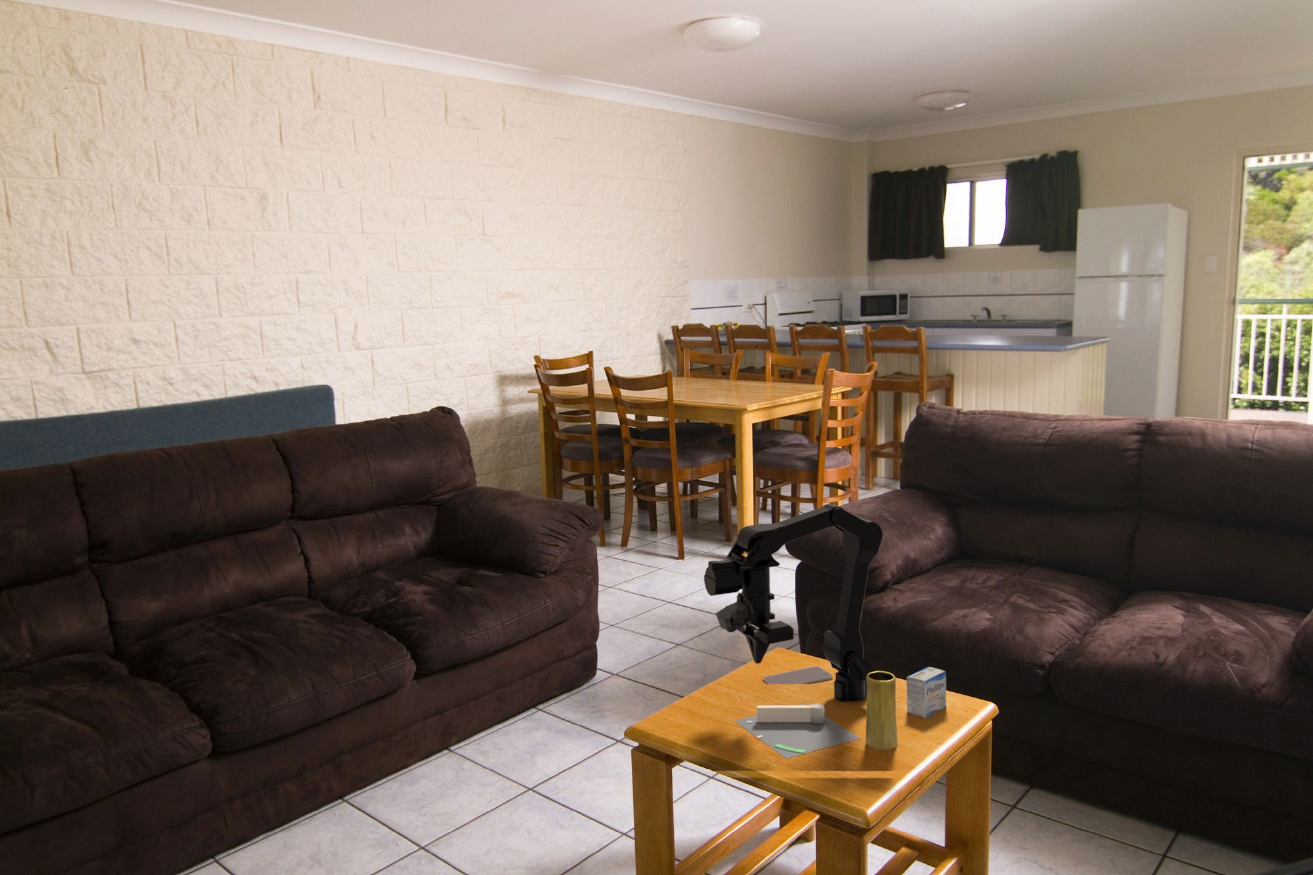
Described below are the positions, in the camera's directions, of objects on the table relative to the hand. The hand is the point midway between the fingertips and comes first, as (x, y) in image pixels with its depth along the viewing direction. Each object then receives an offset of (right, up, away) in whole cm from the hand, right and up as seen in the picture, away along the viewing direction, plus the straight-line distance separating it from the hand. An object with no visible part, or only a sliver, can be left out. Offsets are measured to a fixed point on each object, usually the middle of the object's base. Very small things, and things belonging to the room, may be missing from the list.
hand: (757, 662), depth 187 cm
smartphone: (+12, -10, +22) cm, 27 cm away
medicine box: (+35, -11, +1) cm, 37 cm away
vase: (+22, -13, -13) cm, 29 cm away
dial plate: (+7, -13, -6) cm, 16 cm away
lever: (+6, -11, -3) cm, 13 cm away
